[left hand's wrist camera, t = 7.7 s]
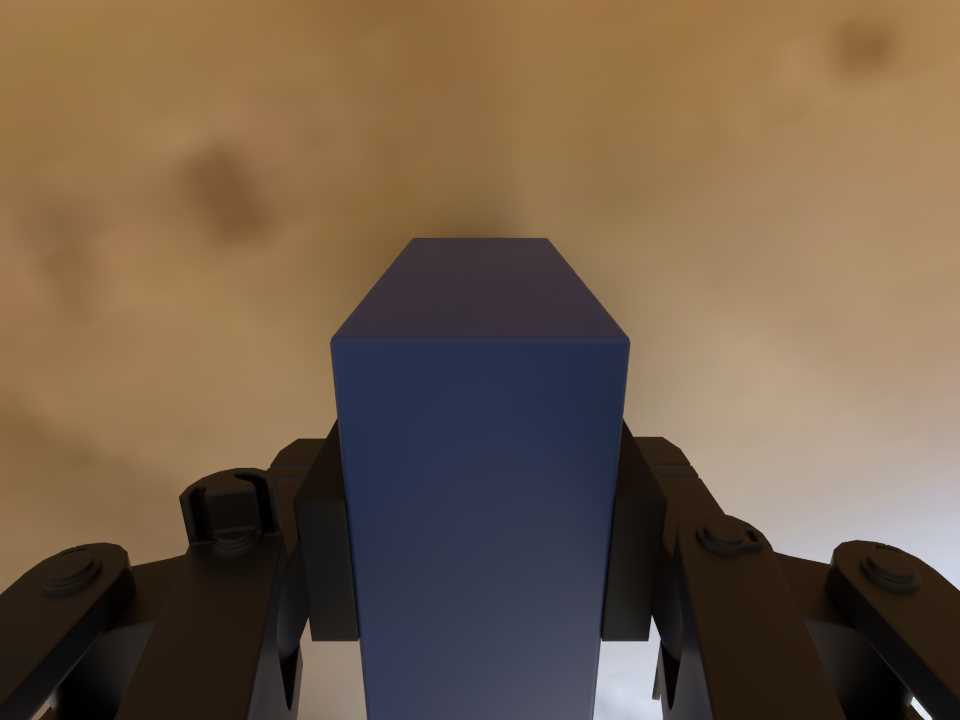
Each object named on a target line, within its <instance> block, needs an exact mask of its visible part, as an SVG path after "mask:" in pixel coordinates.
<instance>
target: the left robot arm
mask: <svg viewBox="0 0 960 720" xmlns="http://www.w3.org/2000/svg"><path fill="white" fill-rule="evenodd" d="M179 499H180V504H181V508H182V513H183V518H184V522H185V527H186V531H187V536H188V540H189V547H188V550H187V552H186V554H185V555H181V556H178V557H174V558H170V559H166V560H161V561H156V562H151V563H146V564H142V565H137V566H132V567H131V564H130V561H129V557H128V553H127V551H125V550H124V549H123V548H122V547H121V546H120V545H116V544H110V543H94V544H85V545H81V546H76V547H75V548H74V547H72V548H70V549H67V550H64V551H61V552H60V553H58V554H56V555H54V556H51V557H49V558H47V559H45V560H43V561H42V562H40V563H39V564H37V565H36V566H35V567H33V568H32V569H30V570H29V571H27V572H26V573H25V574H24V575H22V576H21V577H20V578H19V579H18V580H17V581H16V582H14V583H13V584H12V585H11V586H10V587H9V588H8V589H7V590H5V591H4V592H3V593H2V594H1V595H0V720H31V718H32V717H33V716H34V715H35V714H36V712H37V711H38V710H39V709H40V708H41V706H42V705H43V704H44V703H45V702H46V700H47V699H48V700H49V702H50V705H51V706H50V707H49V709H48V710H47V711H46V712H45V713H44V715H43V716H42V717H41V718H40V719H39V720H297V713H298V704H299V695H300V686H301V677H302V667H303V661H302V654H301V647H300V639H301V636H302V633H303V630H304V628H305V625H306V622H307V620H308V617H309V622H310V629H311V637H312V641H358V640H359V628H358V618H357V608H356V597H355V587H354V577H353V567H352V557H351V547H350V536H349V526H348V516H347V506H346V496H345V488H344V478H343V468H342V458H341V448H340V438H339V427H338V418H337V420H336V422H335V424H334V425H333V427H332V429H331V431H330V433H329V435H328V436H327V438H326V439H297V440H295V441H294V442H293V443H291V444H290V445H288V446H287V447H285V448H284V449H282V450H281V451H280V452H279V453H278V455H277V456H276V458H275V459H274V461H273V462H272V464H271V465H270V468H268V470H267V471H265V470H261V469H257V468H235V469H230V470H225V471H219V472H217V473H214V474H211V475H209V476H206V477H203V478H201V479H200V480H198V481H197V482H195V483H193V484H192V485H190V486H188V487H187V488H186V490H185V491H184V492H183V493H182V494H181V495H180V496H179ZM652 616H653V619H654V621H655V624H656V627H657V629H658V632H659V635H660V637H661V641H660V647H659V654H658V661H657V668H656V674H655V681H654V688H653V695H652V699H654V700H659V699H660V694H661V703H662V712H663V720H925V719H924V718H922V717H921V716H920V715H919V713H918V712H917V711H916V710H915V709H914V707H913V706H912V705H911V701H912V698H913V696H914V697H915V698H916V700H917V701H918V702H919V703H920V704H921V705H922V707H923V708H924V709H925V710H926V711H927V713H928V714H929V715H930V716H931V717H932V720H960V591H959V590H958V589H957V588H956V587H955V586H953V585H952V584H951V583H950V582H949V581H948V580H946V579H945V578H944V577H943V576H942V575H941V574H940V573H938V572H937V571H936V570H935V569H933V568H932V567H930V566H929V565H928V564H926V563H925V562H923V561H922V560H920V559H919V558H917V557H915V556H913V555H911V554H909V553H906V552H904V551H902V550H901V549H899V548H896V547H893V546H890V545H885V544H883V543H878V542H871V541H861V540H854V541H849V542H843V543H841V544H840V545H839V546H838V547H836V548H835V549H834V551H833V555H832V559H831V562H830V564H826V563H821V562H816V561H811V560H806V559H801V558H797V557H792V556H788V555H784V554H781V553H777V552H774V551H773V549H772V546H771V544H770V543H769V542H768V540H767V539H766V537H765V536H764V535H763V533H761V532H760V531H759V530H757V529H756V528H755V527H753V526H752V525H750V524H749V523H747V522H745V521H742V520H740V519H738V518H735V517H733V516H729V515H725V514H724V512H723V511H722V509H721V508H720V506H719V505H718V503H717V502H716V500H715V499H714V497H713V496H712V495H711V493H710V492H709V490H708V489H707V487H706V486H705V484H704V483H703V481H702V480H701V478H698V474H697V473H696V471H695V470H694V468H693V467H692V466H690V462H689V461H688V459H687V458H686V456H685V455H684V453H683V452H682V451H681V449H680V448H678V447H677V446H675V445H674V444H672V443H671V442H669V441H668V440H666V439H665V438H663V437H633V436H632V434H631V432H630V430H629V428H628V426H627V425H626V423H625V421H624V419H623V422H622V432H621V442H620V452H619V462H618V472H617V482H616V492H615V500H614V510H613V520H612V530H611V540H610V550H609V561H608V571H607V581H606V591H605V601H604V611H603V621H602V631H601V639H602V641H648V639H649V632H650V625H651V617H652Z"/></svg>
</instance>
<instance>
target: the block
mask: <svg viewBox="0 0 960 720" xmlns="http://www.w3.org/2000/svg"><path fill="white" fill-rule="evenodd" d="M330 346H331V356H332V366H333V377H334V387H335V397H336V407H337V417H338V427H339V438H340V448H341V458H342V468H343V478H344V488H345V496H346V506H347V516H348V526H349V536H350V547H351V557H352V567H353V577H354V587H355V597H356V608H357V618H358V628H359V640H360V651H361V661H362V671H363V681H364V691H365V701H366V711H367V720H593V715H594V705H595V694H596V684H597V674H598V664H599V654H600V644H601V631H602V621H603V611H604V601H605V591H606V581H607V571H608V561H609V550H610V540H611V530H612V520H613V510H614V500H615V492H616V482H617V472H618V462H619V452H620V442H621V432H622V422H623V412H624V401H625V391H626V381H627V371H628V361H629V351H630V340H629V338H628V336H627V335H626V334H625V333H624V332H623V330H622V329H621V328H620V327H619V325H618V324H617V323H616V322H615V321H614V319H613V318H612V317H611V316H610V314H609V313H608V312H607V311H606V310H605V308H604V307H603V306H602V305H601V303H600V302H599V301H598V300H597V299H596V297H595V296H594V295H593V294H592V292H591V291H590V290H589V289H588V288H587V286H586V285H585V284H584V283H583V281H582V280H581V279H580V278H579V276H578V275H577V274H576V273H575V272H574V270H573V269H572V268H571V267H570V265H569V264H568V263H567V262H566V261H565V259H564V258H563V257H562V256H561V254H560V253H559V252H558V251H557V250H556V248H555V247H554V246H553V245H552V243H551V242H550V241H549V240H548V239H546V238H414V239H412V240H411V241H410V242H409V244H408V245H407V246H406V247H405V249H404V250H403V251H402V252H401V254H400V255H399V256H398V257H397V258H396V260H395V261H394V262H393V263H392V265H391V266H390V267H389V268H388V269H387V271H386V272H385V273H384V274H383V276H382V277H381V278H380V279H379V281H378V282H377V283H376V284H375V285H374V287H373V288H372V289H371V290H370V292H369V293H368V294H367V295H366V297H365V298H364V299H363V300H362V301H361V303H360V304H359V305H358V306H357V308H356V309H355V310H354V311H353V312H352V314H351V315H350V316H349V317H348V319H347V320H346V321H345V322H344V324H343V325H342V326H341V327H340V328H339V330H338V331H337V332H336V333H335V335H334V336H333V337H332V339H331V342H330Z"/></svg>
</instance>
